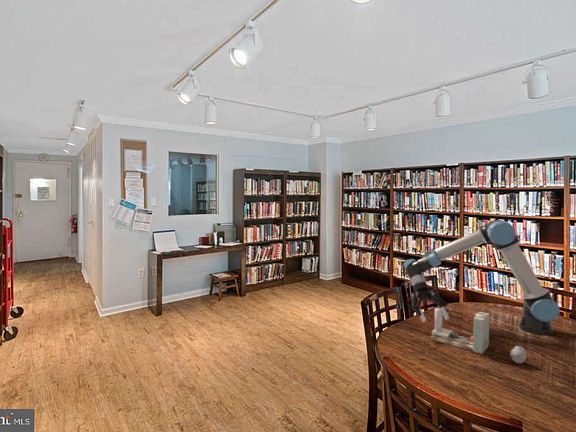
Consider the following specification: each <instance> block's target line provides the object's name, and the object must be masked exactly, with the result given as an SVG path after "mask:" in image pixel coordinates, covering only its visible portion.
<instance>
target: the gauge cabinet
mask: <svg viewBox="0 0 576 432" xmlns="http://www.w3.org/2000/svg"><path fill="white" fill-rule="evenodd" d="M472 320H473V322H472V325H473V326H472V336H473V350H472V352H473V353H477V354H484V353H485V351H486V350H487V348H488V347H489V345H490V344H489V343H490V313H487V312H483V311H479V312H476V313H475V316H474V317H473V319H472Z"/></svg>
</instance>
